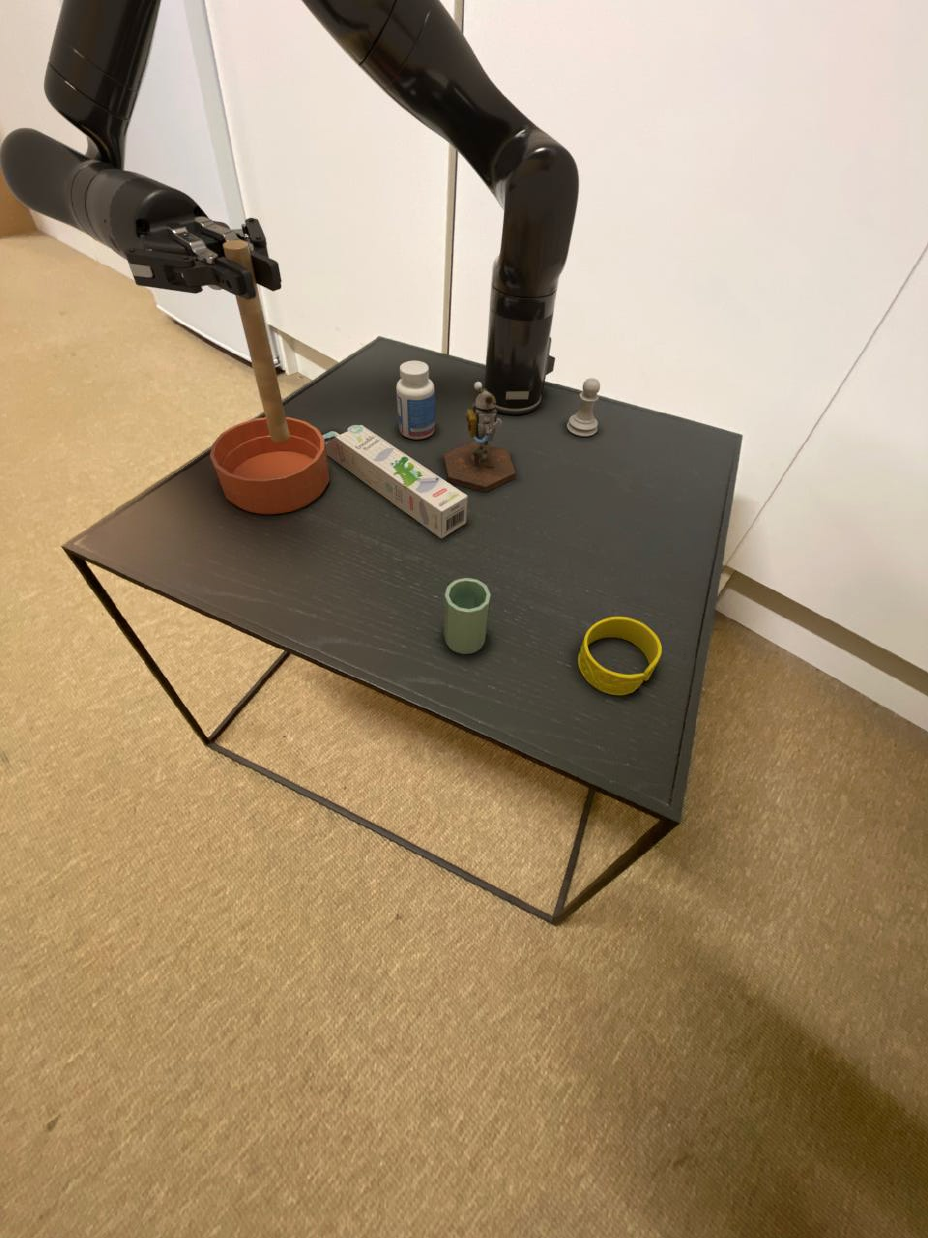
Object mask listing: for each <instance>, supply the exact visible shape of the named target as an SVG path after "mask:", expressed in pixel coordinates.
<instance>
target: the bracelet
mask: <svg viewBox="0 0 928 1238" xmlns="http://www.w3.org/2000/svg"><path fill="white" fill-rule="evenodd" d="M607 638H608V639H609V638H615V639H621V640H624V641H627V642H630V643H631V644H633V645H634V646H635V647H637V648H638V649H639V650H640V651H641V652H642V653H643V654H644V656H645V658H646V660H647V663H648V666H647V667H646V669H645V670H643V671H644V672H642V673H635V674H623V673H617V672H614V671H611V670H610V669H607V668H605V667H604V666H602V665H601V664H600V663H598V662H597V660H596V659H594V657H593V656H592V654H591V653H590V650H589V646H590V645H591V644H593V643H594V642H595V641H598V640H601V639H607ZM662 647H663V646H662V643H661V641H660V638H659V637H658V635H657V634H656V633H655V632H654V631H653V630H652V629H651V628H650V627H649V626H648V625H647V624H645V623H643V622H642V621H639V620H637V619H634V618H631V617H629V616H628V617H627V616H610V617H606V618H604V619H601V620H599V621H597V622H595V623H594V624H593V625H591V626H590V627H589V628H588V629H587V631H586V633H585V635H584V638H583V640H582V643H581V646H580V650H579V653H578V658H577V660H578V669H579V672H580V673H581V675H582V676H583V677H584V679H585V680H586V681H587V682H588V684H589V685H591V686H592V687H594V688H595V689H596V690H598V691H600V692H603V693H604V694H608V695H613V696H625V695H629V694H632V693H634V692H635V691H636V690H637V689H638V688H639V687H640V686H641V685H642V683H643V682H644V681H646V682H647V681H648V680H649V679H650V678H651V676H652V674H653V672H654V670H655V668H656V666H657V665H658V663H659V661H660V658H661V656H662V652H663V648H662Z"/></svg>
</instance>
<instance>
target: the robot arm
mask: <svg viewBox="0 0 928 1238" xmlns="http://www.w3.org/2000/svg"><path fill="white" fill-rule="evenodd" d="M162 1H163V0H62V3H61V7H60V11H59V15H58V20H57V23H56V27H55V30H54V35H53V39H52V42H51V43H52V44H51V47H50V52H49V56H48V61H47V64H46V69H45V72H44V73H45V74H44V78H43V79H44V80H43V81H44V82H43V91H44V94H45V98H46V99H47V101H48V102H49V104H50V105H51V107H52V108H53V109H54V110H55V111H56V112H57V113H58V115H60V116H61V117H62V118H64V119H65V120H66V121H67V122H68V123H69V124H70V125H72V126H73V127H75V129H77V130H78V131H79V132H81V133H82V134H83V135H84V136H85V137H86V142H87V147H86V152H85V153H83V152H81V151H79V150H77V149H75V148H73V147H71V146H69V145H67V144H65V143H63V142H61V141H59V140H57V139H56V138H54V137H52V136H49V135H47V134H46V133H44V132H42V131H40V130H38V129H35V128H32V127H20V128H16V129H14V130H12V131H10V132H8V134H7V135H6V136H5V137H4V139H3V141H2V143H1V144H0V172H1V176H2V178H3V181H4V182H5V184H6V186H7V188H8V189H9V191H10V192H11V194H12V195H13V196H14V197H15V199H16V200H17V201H19V203H20V204H21V205H23V206H25V207H26V208H27V209H29V210H31V211H32V212H33V211H34V212H36V213H38V214H41V215H43V216H45V217H47V218H50V219H53V220H55V221H57V222H60V223H63V224H65V225H67V226H70V227H72V228H74V229H76V230H78V231H80V232H82V233H84V234H85V235H87V236H88V237H90V238H91V239H93V240H94V241H96V242H97V243H100V244H101V245H103V246H106V247H107V248H109V249H111V250H112V251H113V252H114V253H115V254H117V255H118V256H119V257H121V258H122V259H124V260H125V261H127V263H128V266H129V269H130V271H131V272H130V273H131V274H132V277H133V279H134V280H133V281H134V283H135V284H136V285H137V286H139V287H147V288H152V289H153V288H154V289H159V290H160V289H161V290H168V291H174V292H179V293H186V294H187V293H188V294H194V295H195V294H200V293H202V292H203V291H204V289H203V287H206V286H207V287H208V288H210V289H212V290H215V291H221V290H224V291H226V292H228V293H230V294H232V295H234V296H235V295H238V296H240V297H242V298H244V299H246V300H249V299H252V298H255V297H256V291H255V287H254V282H253V278H252V274H251V272H250V271H249V269H247V268H245V267H243V266H241V265H239V264H237V263H235V262H233V261H231V260H228V259H226V256H225V252H224V248H223V244H224V243H225V242H228V241H232V240H241V241H245V242H247V243H248V245H249V250H250V255H251V259H252V264H253V269H254V273H255V278H256V282H257V285H259V286H261V287H263V288H265V289H267V290H269V291H271V292H275V291H279V290H281V289H282V282H283V281H282V275H281V271H280V265H279V262H278V261H277V260H274V259H272V258H271V257H270V256H269V252H268V246H267V245H268V244H267V238H266V235H265V233H264V231H263V228H262V225H261V223H260V221H259V219H258V218H255V217H247V218H246V219H244V223H241V226H240V227H241V228H236V229H235V228H234V229H232V228H231V227H230V225H228V224H227V223H225V222H223V221H217V220H213V219H211V218H210V217H209V216H208V215H207V214H206V213H205V211H204V210H203V208H202V207H201V206H200V204H199V203H198V202H197V201H195V200H194V199H193V198H192V197H191V196H190V195H188V194H187V193H185V192H184V191H182V190H180V189H177V188H174V187H172V186H170V185H168V184H165V183H163V182H161V181H158V180H156V179H154V178H152V177H149V176H146V175H144V174H142V173H139V172H136V171H131V170H126V156H127V144H128V143H127V142H128V134H129V128H130V125H131V122H132V119H133V116H134V114H135V113H134V112H135V110H136V107H137V104H138V101H139V97H140V94H141V90H142V87H143V85H144V80H145V77H146V73H147V70H148V66H149V63H150V57H151V54H152V49H153V45H154V40H155V37H156V30H157V26H158V19H159V15H160V11H161V6H162ZM300 1H301V2H302V3H303V5H304V6H305V7H306V8H307V10H308V11H309V12H310V13H311V15H312V16H313V17H314V18H315V20H316V21H317V22H318V23H319V24H320V25H321V27H323V29H324V30H325V31H326V32H327V34H328V35H329V36H330V37H331V38H332V39H333V41H335V43H336V44H337V45H338V46H339V47H340V48H341V49H342V50H343V52H344V53H345V54H346V56H348V57H349V59H350V60H351V61H353V63H354V64H355V65H357V66H358V68H360V70H361V71H362V72H363V73H364V74H365V75H366V76H368V78H370V79H371V80H372V82H373V83H374V84H375V85H376V86H378V88H379V89H380V90H381V91H383V92H384V93H385V94H386V95H387V97H389V98H390V99H391V100H392V102H393V101H394V102H395V103H396V104H397V105H398V106H399V107H400V108H401V109H403V110H404V111H405V112H406V113H407V114H409V115H410V116H411V117H413V119H415V120H417V121H418V122H419V123H421V125H423V126H425V127H426V128H427V129H429V130H431V131H432V132H434V133H435V134H436V135H438V136H439V137H440V138H442V139H443V140H445V141H446V142H447V143H448V144H450V145H451V146H452V147H453V148H454V149H455V150H456V151H457V152H458V153H459V154H460V155H461V156H462V158H463V159H464V160H465V161H466V162H467V164H468V165H469V166H470V167H471V168H472V169H473V171H474V172H475V173H476V174H477V176H478V177H479V178H480V180H481V181H482V182H483V183H484V185H485V186H486V187H487V188H488V190H489V191H490V193H491V194H492V195H493V197H494V198H495V200H496V202H497V203H498V206H500V208H501V209H502V211H503V217H502V218H503V219H502V229H501V239H500V247H499V248H500V249H499V253H498V255H497V256H496V257H495V258H494V260H493V263H492V269H491V280H490V281H491V282H490V297H489V311H488V312H489V313H488V325H487V326H488V327H487V340H486V355H485V368H484V369H485V370H484V384H483V388H485V389H487V391H488V392H489V393H491V394H492V395H493V396H494V397H495V400H496V404H495V407H494V409H496V411H497V413H501V414H504V415H505V414H506V415H513V416H514V415H517V416H518V415H526V414H529V413H531V412H534V411H535V410H537V409H538V408H539V407H540V405H541V401H542V397H543V396H544V390H545V385H546V380H547V379H546V378H547V376H548V375H549V374H551V373H553V372H554V368H555V363H556V357H555V356H552V355H550V352H551V348H552V347H551V346H552V337H551V331H552V325H553V319H554V312H555V305H556V299H557V292H558V286H559V280H560V276H561V275H562V273H563V271H564V269H565V267H566V263H567V260H568V256H569V253H570V252H569V251H570V247H571V241H572V236H573V232H574V225H575V220H576V215H577V209H578V204H579V195H580V174H579V169H578V164H577V161H576V160H575V158H574V157H573V155H572V154H571V153H570V151H569V150H568V149H567V148H566V147H565V146H564V145H563V144H561V143H560V142H559V141H558V140H557V139H555V138H554V137H553V136H552V135H550V134H549V133H548V132H546V131H544V130H543V129H542V128H540V127H539V126H538V125H537V124H536V123H534V122H533V121H532V120H531V119H529V118H528V117H527V115H525V114H524V113H523V112H522V111H521V110H520V109H519V108H518V107H517V106H516V105H515V104H514V103H513V102H512V101H511V100H510V99H509V98H508V97H506V95H504V94H503V92H502V91H501V90H500V89H499V88H498V87H497V86H496V84H495V83H494V82H493V81H492V79H491V77H489V75H488V73H487V72H486V71H485V69H484V68H483V65H482V63H481V62H480V60H479V59H478V57H477V55H476V54H475V52H474V49H473V48H472V47H471V45H470V43H469V41H468V40H467V38H466V37H465V35H464V34H463V32H462V30H461V29H460V26H459V25H458V24H457V23H456V21H455V19H454V18H453V17H452V15H451V14H450V13H449V11H448V10H447V8H446V7H445V5H444V4H443V3H442V1H441V0H300Z"/></svg>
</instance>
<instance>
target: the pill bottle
mask: <svg viewBox="0 0 928 1238" xmlns="http://www.w3.org/2000/svg"><path fill="white" fill-rule="evenodd" d="M399 376H400V379H399V380H398V381H397V383H396V404H397V405H396V406H397V418H398V429H399V432H400V434H401V435H402V436H403V437H405V438H407V439H410V440H423V439H427V438H429V437H431V436H432V435H433V434H434V432H435V430H436V414H435V413H436V411H435V410H436V409H435V408H436V406H435V385H434V382H433V381H432V380H431V379H430V368H429V364H427V363H426V362H424V361H421V360H408V361H405V362H403V363H402V364H400V365H399Z"/></svg>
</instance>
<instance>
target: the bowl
mask: <svg viewBox="0 0 928 1238" xmlns="http://www.w3.org/2000/svg"><path fill="white" fill-rule="evenodd" d="M286 421H287V425H288V430H289V435H290V436H289V439H287V440H286V441H283V442H275V441H273V440H272V439H271V438H270V434H269V430H268V426H267V422H266V418H265V416H264V417H257V418H252V419H249V420H246V421H243V422H240V423H237V424H235V425H233V426H231V427H230V428H228V429H227V430H225V431H223V432H222V433H220V434H219V436H217V438H216V439H215V441H213V443H212V444H211V448H210V453H209V454H210V455H209V457H210V460H211V463H212V466H213V469H214V472H215V474H216V477H217V480H218V482H219V485H220V487H221V490H222V491H223V495H224V496H225V498H226V499H227V500H228V501H229V502H231V503H232V504H233V505H235V506H236V507H238V508H239V509H242V510H244V511H246V512H249V513H252V514H253V513H254V514H260V515H278V514H286V513H289V512H293V511H297V510H299V509H302V508H304V507H306V506H308V505H310V504H311V503H313V502H315V501H316V500H317V499H318V498H319V497H320V496H321V495H322V494H323V493H324V491H325V490H326V487H327V486H328V484H329V482H330V479H331V478H330V465H329V460H328V459H329V458H328V455H327V453H326V447H325V443H326V441H325V439H324V438H323V436H322V433H321V432H320V430H319V429H318V428H317V427H316V426H314V425H313V424H311V423H309V422H307V421H305V420H302V419H298V418H294V417H290V416H286Z"/></svg>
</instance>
